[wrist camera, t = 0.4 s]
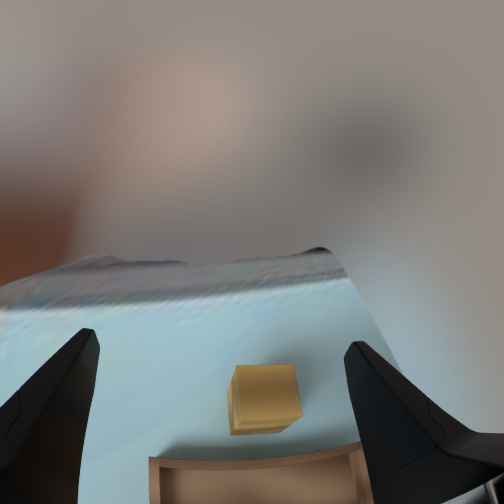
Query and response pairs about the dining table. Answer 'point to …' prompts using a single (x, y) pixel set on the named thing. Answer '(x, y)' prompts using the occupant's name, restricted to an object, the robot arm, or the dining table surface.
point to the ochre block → (263, 399)
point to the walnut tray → (264, 479)
